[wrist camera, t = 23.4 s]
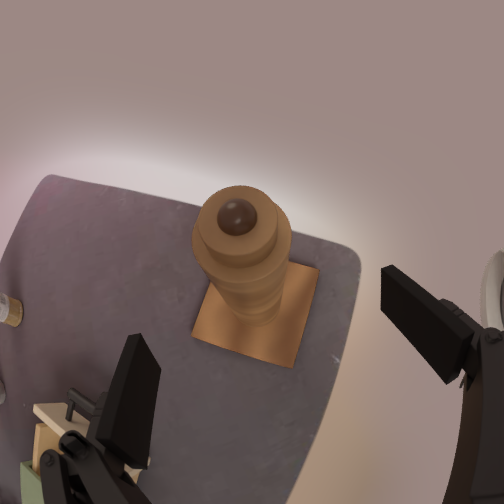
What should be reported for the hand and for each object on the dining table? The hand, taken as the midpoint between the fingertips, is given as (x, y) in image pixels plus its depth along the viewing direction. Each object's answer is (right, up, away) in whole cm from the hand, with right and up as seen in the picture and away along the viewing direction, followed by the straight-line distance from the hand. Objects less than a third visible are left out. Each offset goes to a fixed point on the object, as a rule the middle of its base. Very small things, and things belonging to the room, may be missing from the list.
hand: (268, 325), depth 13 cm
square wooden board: (0, -2, +15) cm, 16 cm away
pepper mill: (0, -2, +15) cm, 15 cm away
